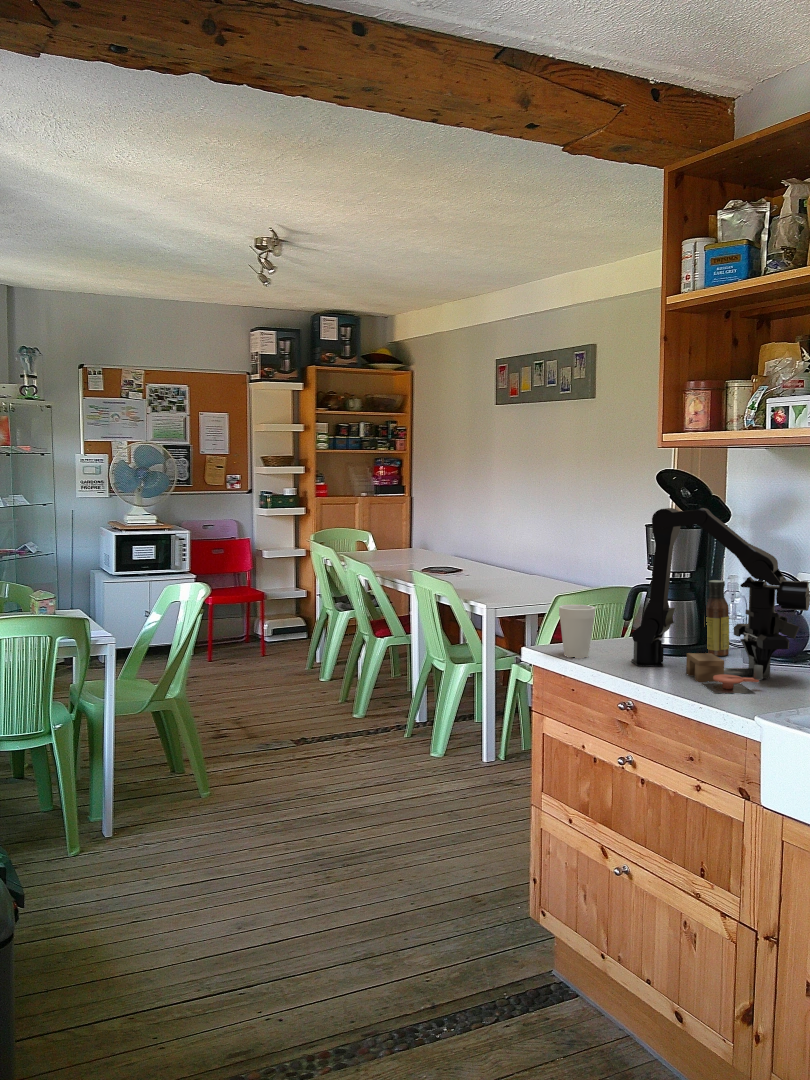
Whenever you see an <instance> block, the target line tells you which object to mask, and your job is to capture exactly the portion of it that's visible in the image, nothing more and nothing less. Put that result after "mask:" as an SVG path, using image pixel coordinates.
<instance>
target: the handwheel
mask: <svg viewBox="0 0 810 1080" xmlns="http://www.w3.org/2000/svg"><path fill="white" fill-rule="evenodd" d="M763 679H764V678H763V666H762V665H754V678H752V677H739V676H735V675H727V674H720V675H714V676H713V680H715V681H717V682H716V683H722V688H725V689H733V686H734V684H736V683H740V684H742V683H744V682H747V683H748V682H749V683H760V680H763Z"/></svg>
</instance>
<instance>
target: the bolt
mask: <svg viewBox="0 0 810 1080" xmlns="http://www.w3.org/2000/svg"><path fill="white" fill-rule="evenodd" d="M771 658H772V657H771ZM771 658H770V660H769V663H768V665H767V668H766V671H765V673H764V674H763V678H762V679H770V678H771V660H772V659H771ZM754 665H757V663H756V660H755V656H754V655H749V657H748V667H724V674H727V675H735V676H739V677H743V678H754Z"/></svg>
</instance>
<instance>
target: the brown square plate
mask: <svg viewBox="0 0 810 1080" xmlns="http://www.w3.org/2000/svg"><path fill="white" fill-rule="evenodd" d="M700 683H701V685H702V686H703V685H704V686H703V687H705V686H706V687H707V688H706V687H705V688H706V689H708V688H709V689H710V690H711V691H710V690H709V689H708V690H709V691H710V692H712V691H713V692H714V693H713V692H712V693H713V694H715V693H749V694H748V695H755V694H756V692H754V691H753V690H751V689H750V688H749V687H746V686H745V685H743V684H742V683H736V684H734V686H733V689H725V688H722V683H721V682H700Z"/></svg>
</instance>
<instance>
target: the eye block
mask: <svg viewBox="0 0 810 1080" xmlns="http://www.w3.org/2000/svg"><path fill="white" fill-rule="evenodd" d="M685 663H686V664H685V666H686V668H685V670H686V671H685V672H686V673H685V674H686V675H687V674H688V676H689V677H694V680H695V681H696V682H697V681H698V683H718V682H717V681H715V680H713V676H714V675H720V674H724V668H725V660H724V659H721V658H720V656H715V655H713V654H712V653H706V652H705V653H704V652H703V653H702V652H700V653H699V652H696V653H695V652H694V653H692V652H688V653H687V652H686V661H685ZM707 681H709V682H707Z"/></svg>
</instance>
